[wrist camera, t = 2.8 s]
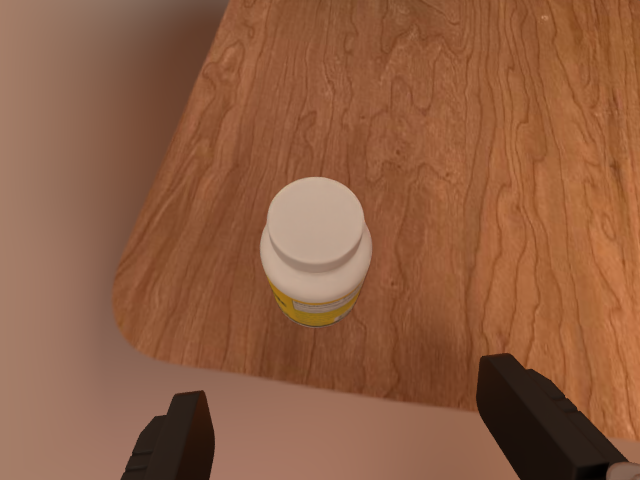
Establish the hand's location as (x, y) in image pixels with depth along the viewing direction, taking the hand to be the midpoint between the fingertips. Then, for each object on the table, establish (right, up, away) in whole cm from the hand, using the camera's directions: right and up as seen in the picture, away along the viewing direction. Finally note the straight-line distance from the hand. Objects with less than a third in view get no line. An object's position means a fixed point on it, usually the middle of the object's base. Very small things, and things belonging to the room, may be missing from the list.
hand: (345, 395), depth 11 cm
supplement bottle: (-1, +1, +13) cm, 13 cm away
